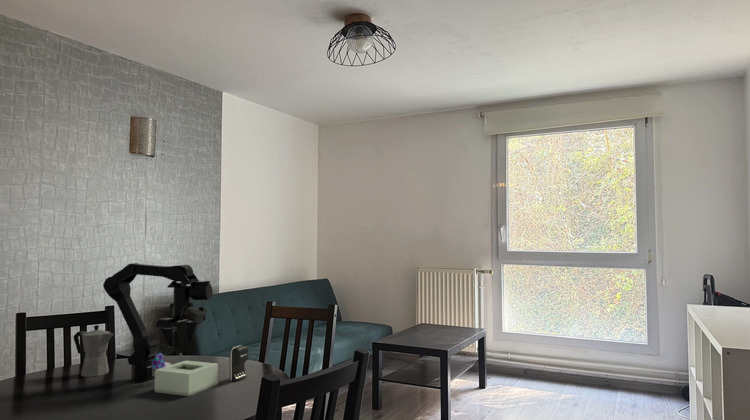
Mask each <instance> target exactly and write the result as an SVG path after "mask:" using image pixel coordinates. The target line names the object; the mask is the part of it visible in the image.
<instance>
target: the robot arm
mask: <svg viewBox="0 0 750 420" xmlns="http://www.w3.org/2000/svg"><path fill="white" fill-rule="evenodd" d="M137 276H149V277H150V276H151V277H163V278H166V279H167V280H171V282H170V283H169V284H168V285H167V288H168V289H169V288H170V289H171V288H172V289H173V296H172V297H173V299H172V300H173V302H172V303H170V307H172V310H173V311H172V312H173V313H172V314H170V317H163V318H158V319H157V320H156V321H155V328H157V329H158V330H160V331H161V332H162V334H163V335H164V337H165V340H166V342H167V343H168V346H169V347H170V348H173V347H174V345H175V332H176V331H177V329H178V328H179V327H177V325H178V324H182V323H184V324H185V329H186V335H187V339H188V342H189V343H192V342H193V340H194V337H195V334H196V331H197V329H198V327H200V325H201V324H203V322H204V321H206V317H207V307H206V306H200V307H199V308H198V307H195V305H194V302H191V300H193V301H210V300H211V299H212V298H213V293H214V289H213V287H212V285H211V281H210V280H203V281H200V280H199V278H198V277H197V276H196V274H195V273H194V269H193V267H192V266H191V265H189V264H179V265H178V264H177V265H171V266H167V265H154V264H144V263H142V264H141V263H138V262H135V263H134V262H133V263H128V264H127V265H126V266H124V268H122V269H120V270H118V271H117V272H115V273H114V274H113V275H112V276H109V277H107V278H106V279H105V280H104V282H103V284H102V287H103V290H104V291H105V292H106V294H107V296H108V297H110V298H111V299H112V300H113V301H114V302H116V304H117V306H118V308H119V311H120V312H121V315H122V317H123V319H124V321H125V323H126V326H127V328H128V329H129V332H130V334H131V336H132V338H133V339H132V348H133V351H134V352H132V354H131V355H130V356H129V357H128V358H127V364H128V365H129V366H131V374H130V375H131V376H130V377H131V378H128V379H127V381H128V382H135V383H143V382H146V381H149V380H152V379H155V375H153V370H152V361H150V360H153V359H154V358H155V355H156V354H157V353H159V351H160V347H161V346H160V343H161V341H159V339H158V337H157V334H156V333H155V332H154V333H150V332H149V331H148V330H147V327H145V324H144V321H143V319H142V318H141V316H140V314H139V311H138V310H137V307H136V305H135V303H134V301H133V299H132V296H131V290H132V288H131V285H130V284H131V283H132V282H133V281H134V280H135V279H136V277H137Z"/></svg>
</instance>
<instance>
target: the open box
mask: <svg viewBox="0 0 750 420" xmlns="http://www.w3.org/2000/svg"><path fill="white" fill-rule="evenodd" d="M154 376H155V378H154V393H160V394H166V395H167V394H168V395H175V396H184V397H191V396H193V395H196V394H198V393H201V392H203V391H205V390H207V389H208V390H209V389H210V388H212V387H215V386H217V385H218V384H219V379H218V378H219V364H218V363H214V362H204V361H194V360H184V361H180V362H176V363H173V364H171V365H170V366H167V367H165V366H164V368H160V369H155V370H154Z"/></svg>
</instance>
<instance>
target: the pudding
mask: <svg viewBox="0 0 750 420" xmlns="http://www.w3.org/2000/svg"><path fill="white" fill-rule="evenodd" d="M150 361H152V371H153V370H154V371H155V370H157V369H160V368H164V367H167V366H170V365H172V363H171V362H167V361H165V358H164V354H163V353H161V352H158V353H157V354H156V355H155V358H154V359H153V360H150Z"/></svg>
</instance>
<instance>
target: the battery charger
mask: <svg viewBox="0 0 750 420" xmlns="http://www.w3.org/2000/svg"><path fill="white" fill-rule="evenodd" d="M247 361H249V349H248V347H247V346H246V345H237V346H233V347H232V348H230V351H229V381H231V382H239V381H241V380H243V379H246V378H247V372H246V370H245V369H246V368H245V367H246V366H245V363H246V362H247Z"/></svg>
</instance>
